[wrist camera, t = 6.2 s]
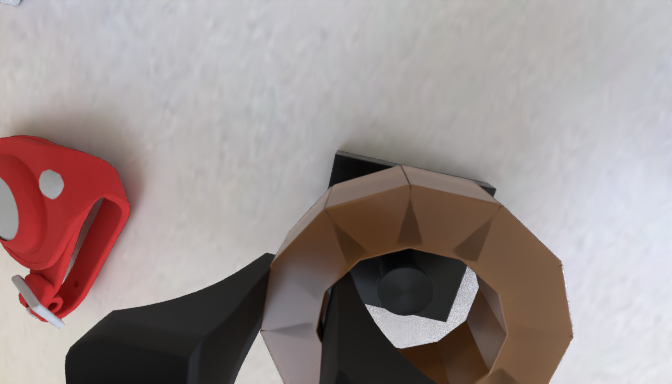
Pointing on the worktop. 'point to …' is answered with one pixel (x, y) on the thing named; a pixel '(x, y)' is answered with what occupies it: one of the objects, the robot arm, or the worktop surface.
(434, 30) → the worktop surface
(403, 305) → the rack
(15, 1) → the cosmetic box
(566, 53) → the worktop surface
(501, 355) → the ring
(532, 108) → the worktop surface
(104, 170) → the tracker holder
